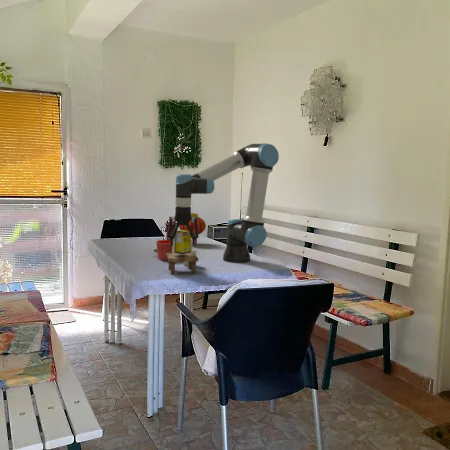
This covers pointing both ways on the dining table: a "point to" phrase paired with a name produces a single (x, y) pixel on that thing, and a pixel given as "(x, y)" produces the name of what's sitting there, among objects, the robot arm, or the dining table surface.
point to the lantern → (200, 225)
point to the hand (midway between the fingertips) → (182, 252)
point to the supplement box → (182, 242)
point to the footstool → (182, 260)
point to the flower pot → (163, 249)
